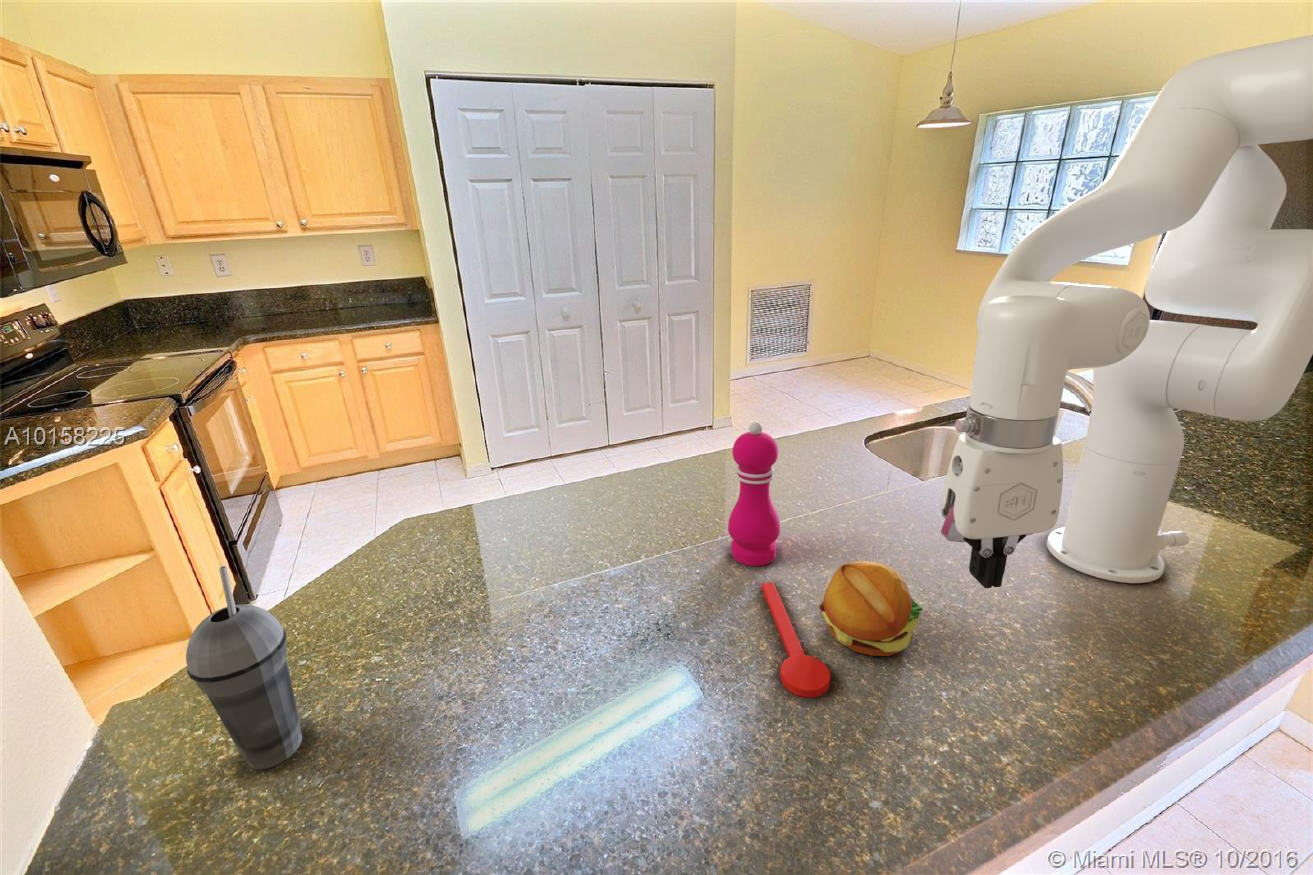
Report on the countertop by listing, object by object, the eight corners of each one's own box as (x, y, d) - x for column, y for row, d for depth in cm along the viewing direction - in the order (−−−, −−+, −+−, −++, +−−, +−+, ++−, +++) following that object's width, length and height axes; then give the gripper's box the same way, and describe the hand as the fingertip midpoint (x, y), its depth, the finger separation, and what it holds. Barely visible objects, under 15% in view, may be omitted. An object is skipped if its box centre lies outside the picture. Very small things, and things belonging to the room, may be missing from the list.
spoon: (786, 586, 75) (786, 579, 75) (837, 695, 58) (837, 688, 57) (748, 589, 75) (748, 582, 74) (787, 700, 57) (788, 692, 57)
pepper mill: (779, 570, 78) (784, 432, 71) (725, 566, 80) (725, 430, 73) (779, 542, 85) (783, 413, 78) (730, 539, 86) (730, 412, 79)
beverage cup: (256, 721, 58) (191, 548, 51) (331, 713, 58) (276, 542, 51) (210, 787, 51) (127, 599, 44) (295, 778, 51) (226, 591, 44)
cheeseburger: (927, 619, 67) (934, 558, 62) (900, 694, 61) (906, 632, 55) (842, 590, 73) (841, 532, 68) (808, 655, 66) (805, 596, 61)
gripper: (956, 447, 53) (936, 609, 60) (1113, 431, 53) (1075, 594, 60) (916, 419, 60) (902, 567, 67) (1056, 406, 60) (1028, 554, 67)
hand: (984, 580), depth 64 cm, fingers closed
